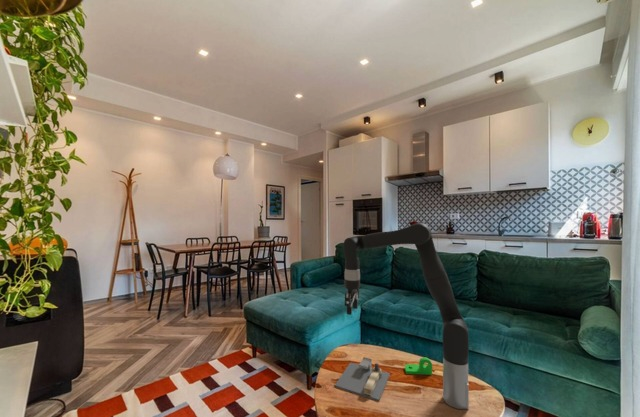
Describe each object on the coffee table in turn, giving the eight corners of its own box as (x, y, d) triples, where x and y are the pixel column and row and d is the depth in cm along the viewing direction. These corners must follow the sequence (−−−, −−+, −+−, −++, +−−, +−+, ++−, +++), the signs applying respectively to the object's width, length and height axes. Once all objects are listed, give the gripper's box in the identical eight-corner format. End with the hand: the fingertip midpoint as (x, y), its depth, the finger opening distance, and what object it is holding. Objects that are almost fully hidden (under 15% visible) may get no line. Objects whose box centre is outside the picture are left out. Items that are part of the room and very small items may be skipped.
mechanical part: (428, 369, 133) (428, 353, 133) (432, 376, 127) (432, 359, 127) (403, 367, 134) (403, 351, 134) (406, 375, 128) (406, 358, 128)
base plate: (389, 375, 127) (389, 373, 127) (379, 402, 110) (379, 399, 110) (350, 364, 136) (350, 362, 136) (334, 387, 119) (334, 385, 119)
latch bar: (373, 371, 128) (373, 360, 128) (382, 373, 126) (382, 363, 126) (362, 392, 113) (362, 381, 113) (372, 396, 111) (372, 384, 111)
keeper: (371, 368, 131) (371, 358, 131) (367, 376, 125) (367, 366, 125) (363, 365, 133) (363, 356, 133) (358, 374, 127) (358, 364, 127)
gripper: (354, 282, 122) (354, 317, 122) (364, 275, 134) (364, 307, 134) (339, 280, 125) (339, 315, 125) (350, 274, 138) (350, 305, 138)
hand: (352, 311), depth 130 cm, fingers open, 8 cm apart
